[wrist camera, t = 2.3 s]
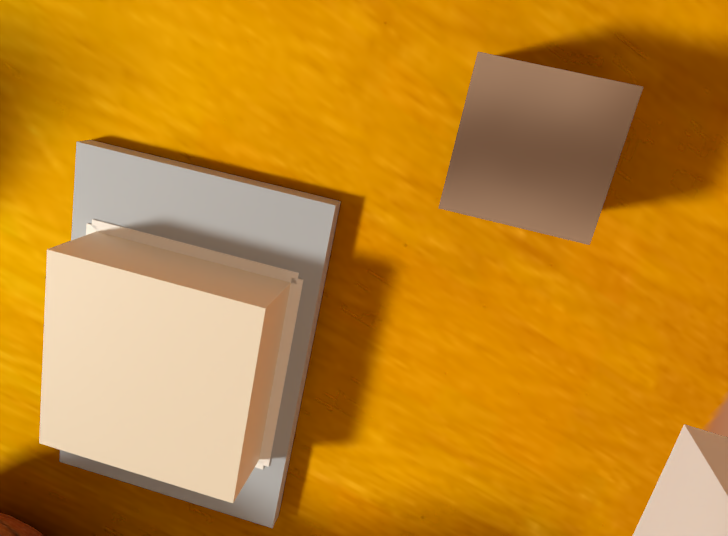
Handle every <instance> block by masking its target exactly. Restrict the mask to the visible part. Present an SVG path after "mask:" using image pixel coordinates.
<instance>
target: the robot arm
mask: <svg viewBox="0 0 728 536" xmlns="http://www.w3.org/2000/svg"><path fill="white" fill-rule="evenodd" d="M633 536H728V437H725V436H722V435H718V434H715V433H712V432H708V431H705V430H701V429H698V428H695V427H691V426H688V425H685V424H684V426H683V428H682V430H681V433H680V435H679V437H678V439H677V441H676V443H675V446H674V448H673V450H672V452H671V454H670V456H669V458H668V461H667V463H666V465H665V467H664V469H663V471H662V474H661V476H660V478H659V480H658V482H657V484H656V487H655V489H654V491H653V493H652V495H651V497H650V499H649V502H648V504H647V506H646V508H645V510H644V512H643V515H642V517H641V519H640V521H639V523H638V525H637V528H636V530H635V532H634V534H633Z"/></svg>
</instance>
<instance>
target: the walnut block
mask: <svg viewBox="0 0 728 536" xmlns="http://www.w3.org/2000/svg"><path fill="white" fill-rule="evenodd" d="M642 90H643V87H642V86H638V85H633V84H628V83H623V82H619V81H614V80H609V79H605V78H600V77H595V76H590V75H586V74H581V73H576V72H572V71H567V70H562V69H557V68H553V67H548V66H543V65H539V64H534V63H529V62H524V61H520V60H515V59H510V58H505V57H501V56H496V55H491V54H487V53H482V52H478V54H477V58H476V62H475V66H474V70H473V74H472V78H471V82H470V86H469V90H468V94H467V98H466V102H465V106H464V110H463V114H462V117H461V121H460V125H459V129H458V133H457V137H456V141H455V145H454V149H453V153H452V157H451V161H450V165H449V169H448V173H447V177H446V181H445V185H444V189H443V193H442V197H441V201H440V205H439V208H440V209H444V210H448V211H452V212H456V213H461V214H465V215H469V216H473V217H477V218H481V219H485V220H489V221H493V222H498V223H502V224H506V225H510V226H514V227H518V228H522V229H526V230H530V231H535V232H539V233H543V234H547V235H551V236H555V237H559V238H563V239H568V240H572V241H576V242H580V243H584V244H588V245H590V242H591V239H592V237H593V234H594V231H595V228H596V225H597V222H598V219H599V216H600V213H601V210H602V207H603V204H604V201H605V198H606V195H607V193H608V190H609V187H610V184H611V181H612V178H613V175H614V172H615V169H616V166H617V163H618V160H619V157H620V154H621V152H622V149H623V146H624V143H625V140H626V137H627V134H628V131H629V128H630V125H631V122H632V119H633V116H634V113H635V110H636V108H637V105H638V102H639V99H640V96H641V93H642Z"/></svg>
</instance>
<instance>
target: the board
mask: <svg viewBox="0 0 728 536" xmlns="http://www.w3.org/2000/svg"><path fill="white" fill-rule="evenodd" d="M340 203H341V201H338V200H334V199H330V198H326V197H322V196H318V195H313V194H309V193H305V192H301V191H297V190H293V189H289V188H285V187H281V186H277V185H273V184H269V183H265V182H261V181H256V180H252V179H248V178H244V177H240V176H236V175H232V174H228V173H224V172H220V171H216V170H212V169H208V168H204V167H199V166H195V165H191V164H187V163H183V162H179V161H175V160H171V159H167V158H163V157H159V156H155V155H151V154H147V153H142V152H138V151H134V150H130V149H126V148H122V147H118V146H114V145H110V144H106V143H102V142H98V141H94V140H85V141H77V145H76V164H75V182H74V200H73V219H72V237H71V241H69V242H66V243H63V244H61V245H58V246H55V247H53V248H50V249H47V267H46V291H45V315H44V340H43V364H42V388H41V413H40V437H39V443H40V444H43V445H47V446H50V447H53V448H56V449H59V450H60V459H59V462H62V463H65V464H69V465H72V466H75V467H78V468H81V469H85V470H88V471H91V472H94V473H97V474H101V475H104V476H107V477H110V478H113V479H116V480H120V481H123V482H126V483H129V484H132V485H136V486H139V487H142V488H145V489H148V490H152V491H155V492H158V493H161V494H164V495H168V496H171V497H174V498H177V499H180V500H184V501H187V502H190V503H193V504H196V505H199V506H203V507H206V508H209V509H212V510H215V511H219V512H222V513H225V514H228V515H231V516H235V517H238V518H241V519H244V520H247V521H251V522H254V523H257V524H260V525H263V526H267V527H270V528H273V526H274V524H275V522H276V520H277V518H278V516H279V512H280V507H281V501H282V496H283V491H284V486H285V481H286V476H287V471H288V466H289V461H290V456H291V451H292V446H293V441H294V436H295V431H296V426H297V421H298V416H299V411H300V405H301V400H302V395H303V390H304V385H305V380H306V375H307V370H308V365H309V360H310V355H311V350H312V345H313V340H314V335H315V330H316V325H317V320H318V315H319V309H320V304H321V299H322V294H323V289H324V284H325V279H326V274H327V269H328V264H329V259H330V254H331V249H332V244H333V239H334V234H335V229H336V224H337V219H338V214H339V208H340Z"/></svg>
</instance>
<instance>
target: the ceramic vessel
mask: <svg viewBox="0 0 728 536" xmlns="http://www.w3.org/2000/svg"><path fill="white" fill-rule="evenodd" d="M0 536H44V535H43V534H42V533H40V532H39V531H37V530H36V529H34V528H33V527H31V526H30V525H28V524H26V523H23V522H21V521H19V520H17V519H16V518H14V517H12V516H9V515H6V514H3V513H0Z"/></svg>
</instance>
